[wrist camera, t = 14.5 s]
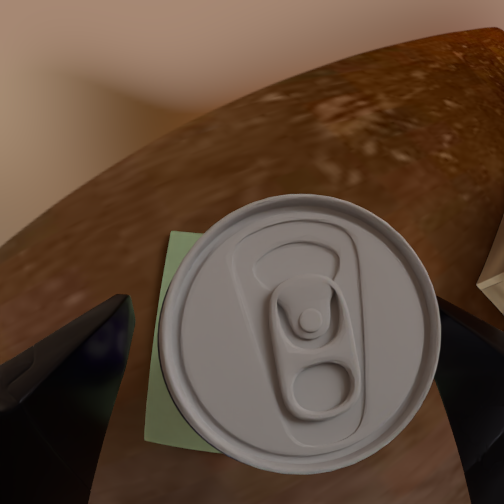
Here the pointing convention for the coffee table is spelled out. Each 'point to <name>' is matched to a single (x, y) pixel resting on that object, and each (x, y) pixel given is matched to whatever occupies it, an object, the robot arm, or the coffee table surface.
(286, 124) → the coffee table surface
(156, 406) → the mat
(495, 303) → the box
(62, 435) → the robot arm
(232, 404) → the beverage can
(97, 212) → the coffee table surface
